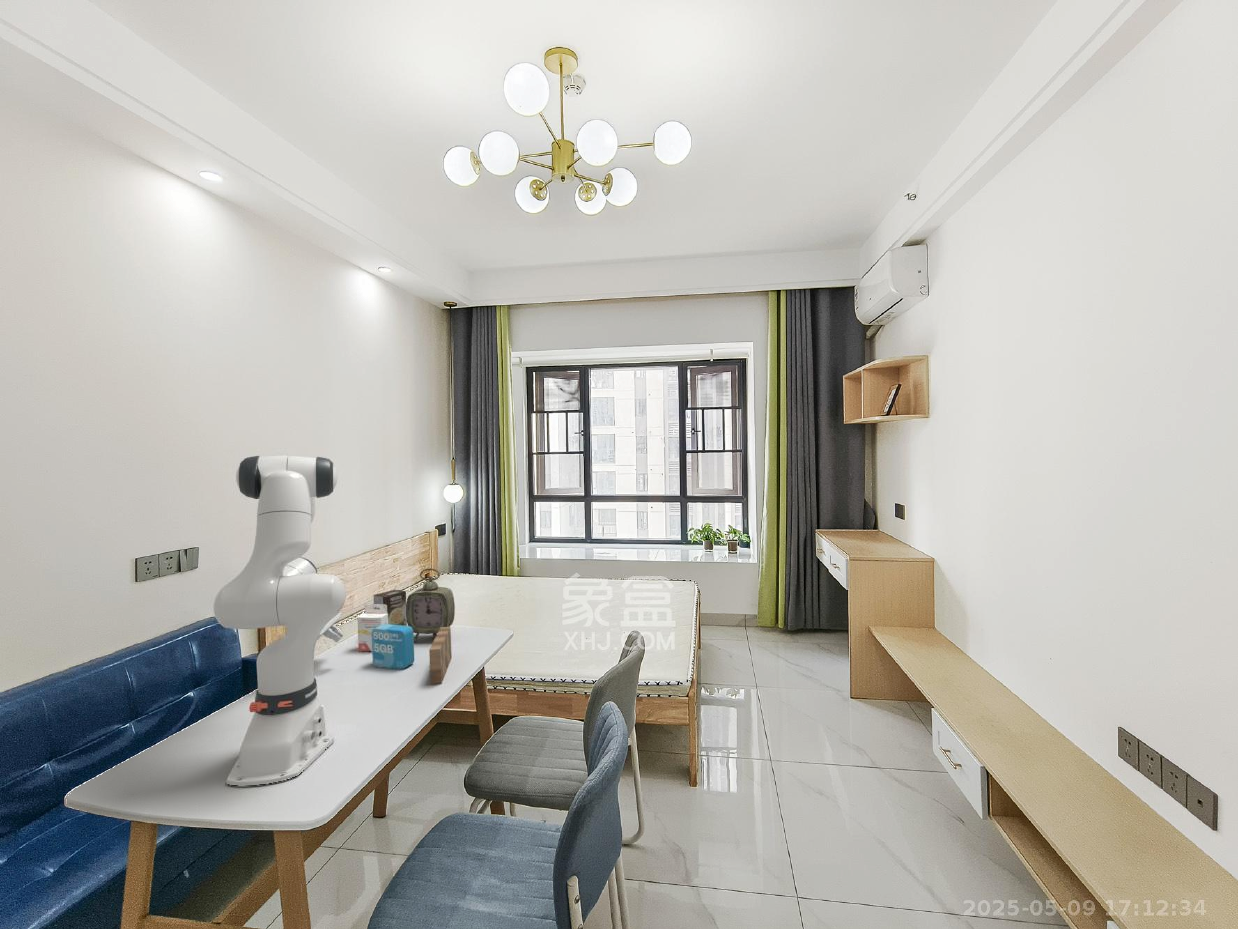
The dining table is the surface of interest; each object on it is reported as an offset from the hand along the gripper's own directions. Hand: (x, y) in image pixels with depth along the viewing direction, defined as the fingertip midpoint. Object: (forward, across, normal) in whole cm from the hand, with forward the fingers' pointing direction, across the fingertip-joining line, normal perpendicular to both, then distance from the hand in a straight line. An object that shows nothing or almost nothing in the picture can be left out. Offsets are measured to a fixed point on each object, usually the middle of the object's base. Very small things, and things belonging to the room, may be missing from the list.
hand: (340, 639), depth 176 cm
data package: (+18, 0, -4) cm, 18 cm away
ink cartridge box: (+11, +16, +3) cm, 19 cm away
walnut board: (+28, -8, -15) cm, 33 cm away
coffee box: (+13, +27, +1) cm, 30 cm away
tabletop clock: (+23, +22, -10) cm, 33 cm away
